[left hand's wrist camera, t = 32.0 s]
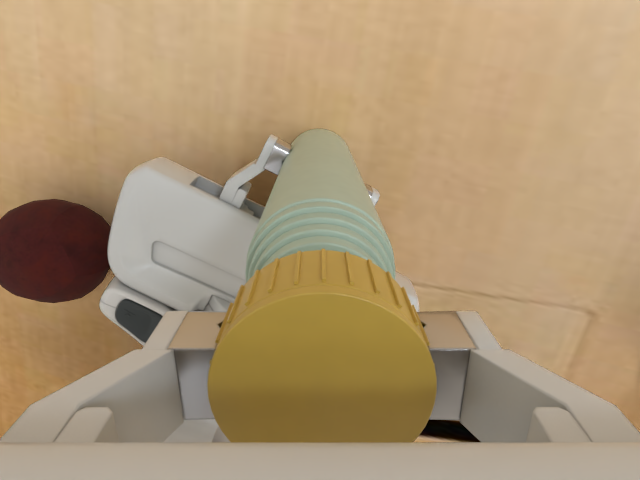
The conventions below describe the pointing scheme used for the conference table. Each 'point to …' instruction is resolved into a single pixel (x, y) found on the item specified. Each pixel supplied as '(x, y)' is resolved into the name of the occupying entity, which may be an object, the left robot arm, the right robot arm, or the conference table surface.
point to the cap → (322, 355)
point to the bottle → (319, 207)
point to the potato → (53, 250)
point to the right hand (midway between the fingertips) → (325, 163)
